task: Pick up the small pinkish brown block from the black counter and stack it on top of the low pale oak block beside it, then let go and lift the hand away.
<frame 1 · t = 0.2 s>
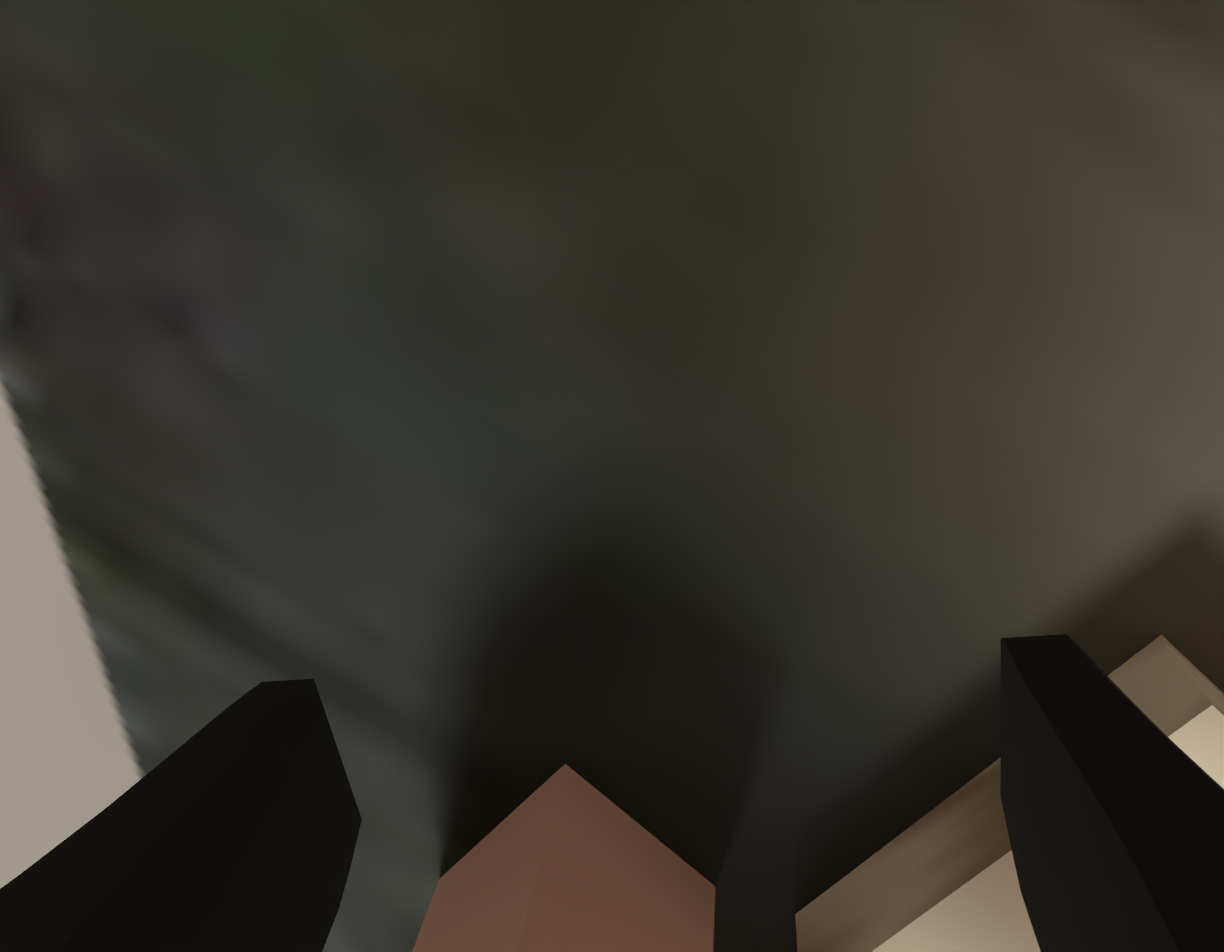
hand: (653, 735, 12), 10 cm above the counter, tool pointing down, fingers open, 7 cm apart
oak block: (1119, 910, 25), on the counter
pinkish brown block: (575, 881, 25), on the counter
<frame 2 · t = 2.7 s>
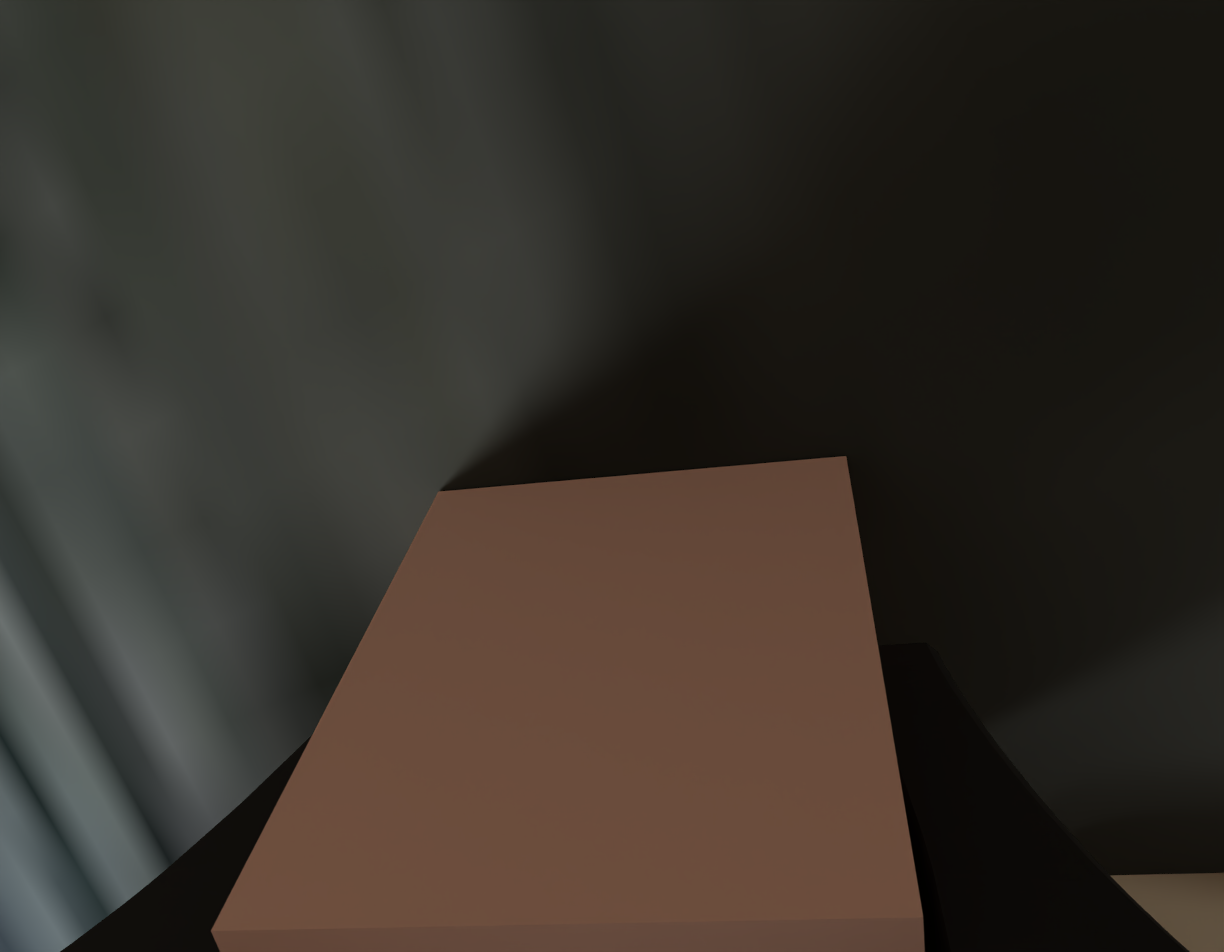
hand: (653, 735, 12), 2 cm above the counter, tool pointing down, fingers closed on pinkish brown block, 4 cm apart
pinkish brown block: (663, 642, 13), on the counter, touching gripper
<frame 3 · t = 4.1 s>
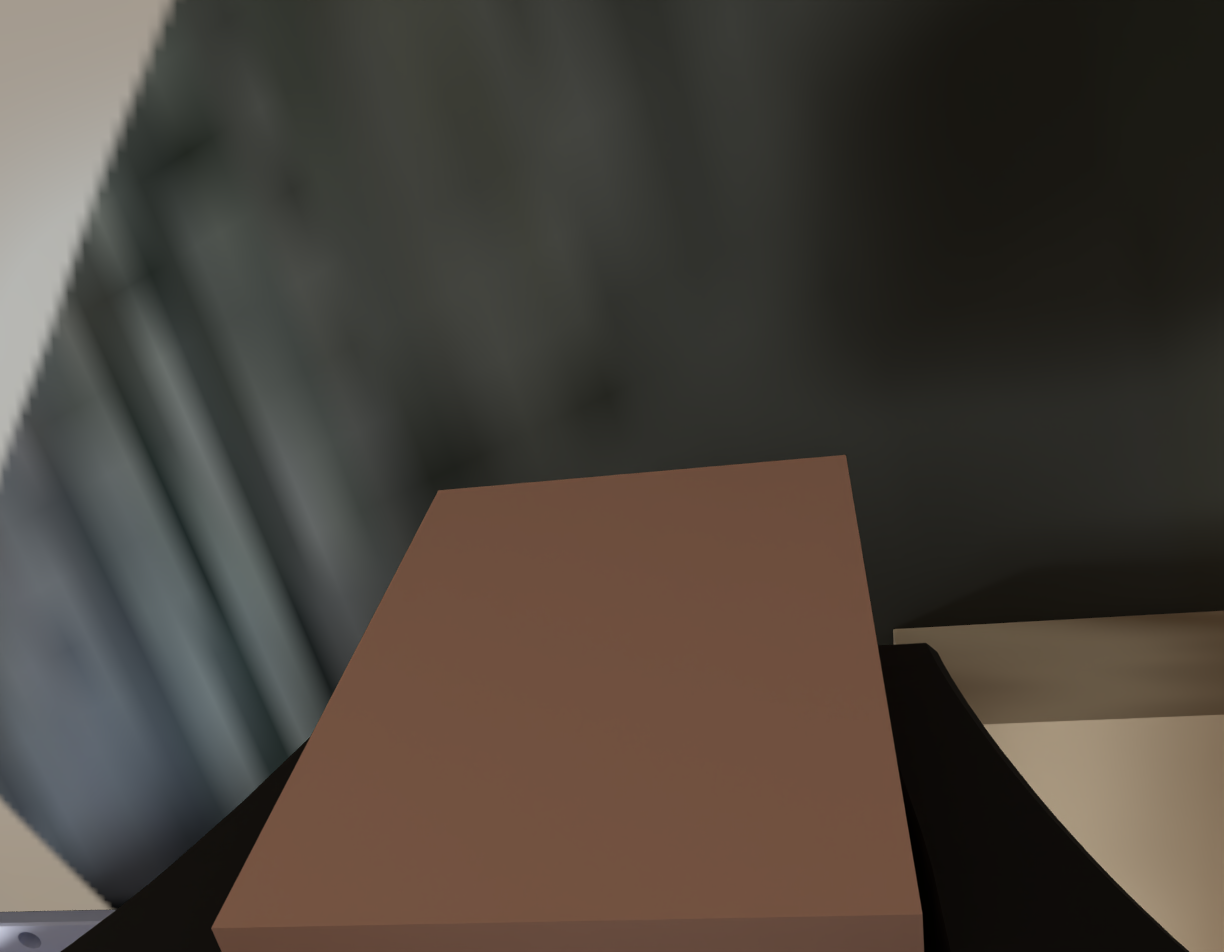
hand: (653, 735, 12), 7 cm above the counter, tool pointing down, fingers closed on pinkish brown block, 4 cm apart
oak block: (1172, 818, 21), on the counter
pinkish brown block: (663, 641, 13), point 5 cm above the counter, touching gripper
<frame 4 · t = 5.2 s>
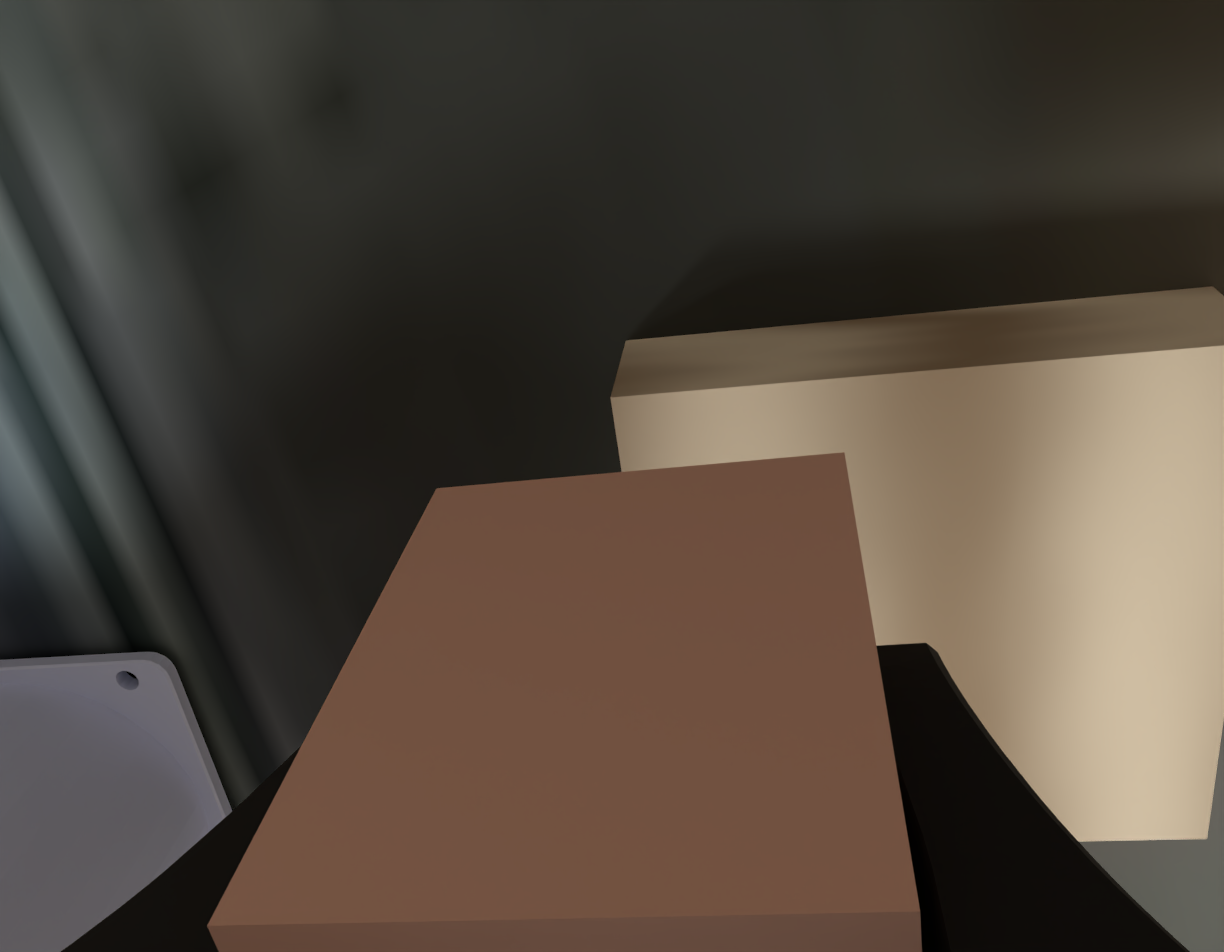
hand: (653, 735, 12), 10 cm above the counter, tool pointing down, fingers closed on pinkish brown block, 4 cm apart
oak block: (909, 545, 22), on the counter
pinkish brown block: (661, 639, 13), point 8 cm above the counter, touching gripper
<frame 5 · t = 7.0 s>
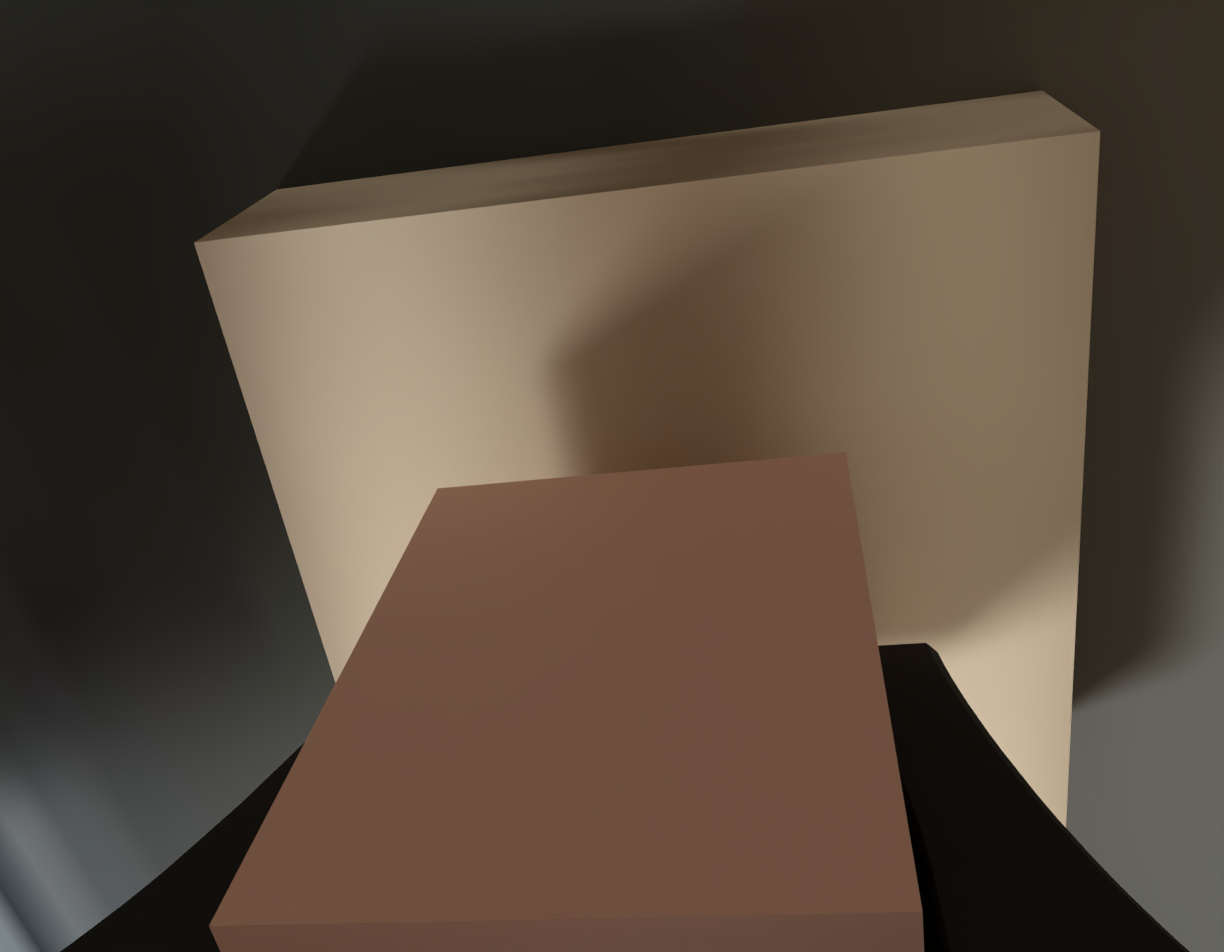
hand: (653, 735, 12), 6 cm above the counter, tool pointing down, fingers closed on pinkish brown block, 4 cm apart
oak block: (684, 469, 17), on the counter
pinkish brown block: (662, 639, 13), point 4 cm above the counter, touching gripper
when the fingers open (6 cm above the counter, at t = 8.1 s): pinkish brown block drops 1 cm, resting on oak block.
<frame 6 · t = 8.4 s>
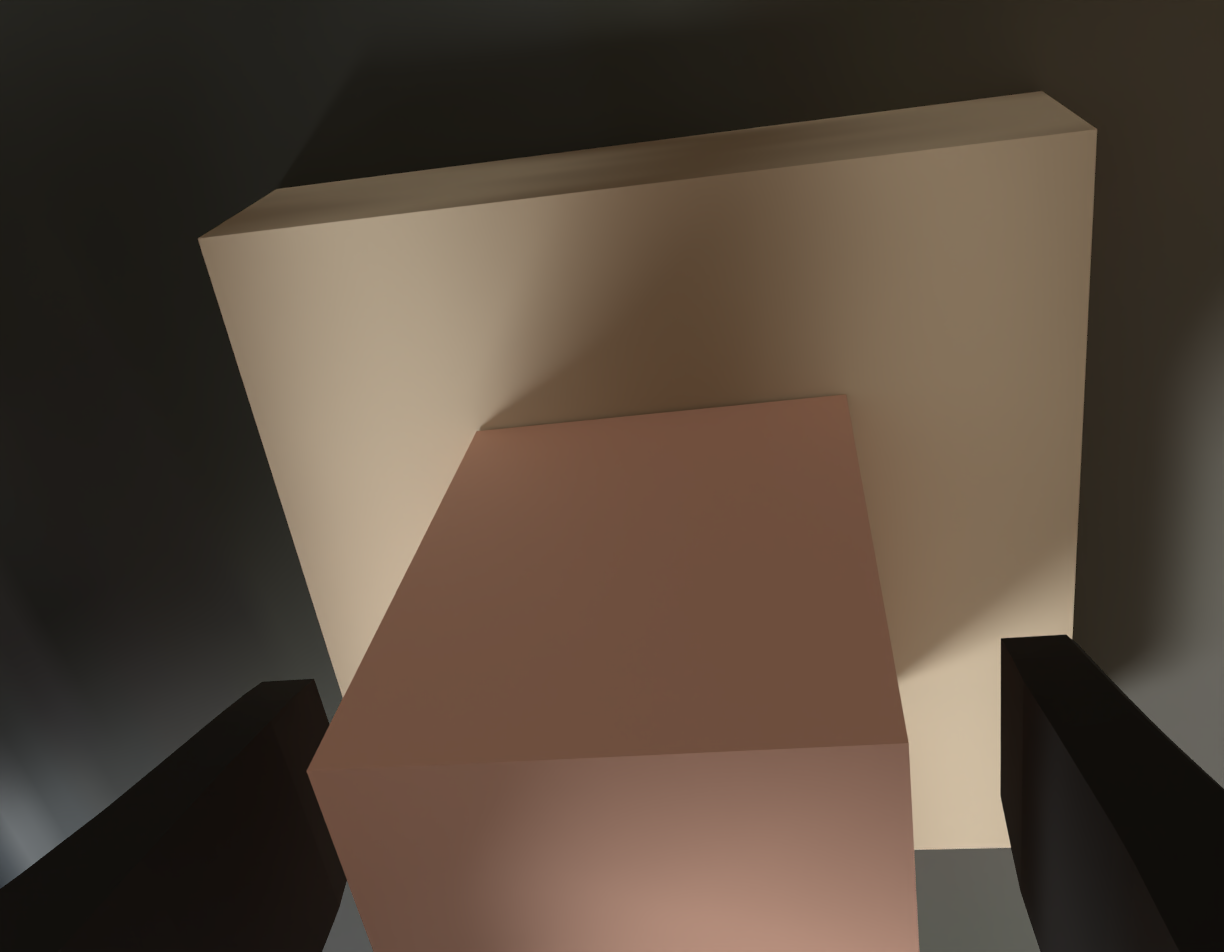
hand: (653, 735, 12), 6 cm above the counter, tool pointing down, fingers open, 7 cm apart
oak block: (684, 466, 17), on the counter, touching pinkish brown block
pinkish brown block: (680, 570, 14), point 2 cm above the counter, touching oak block
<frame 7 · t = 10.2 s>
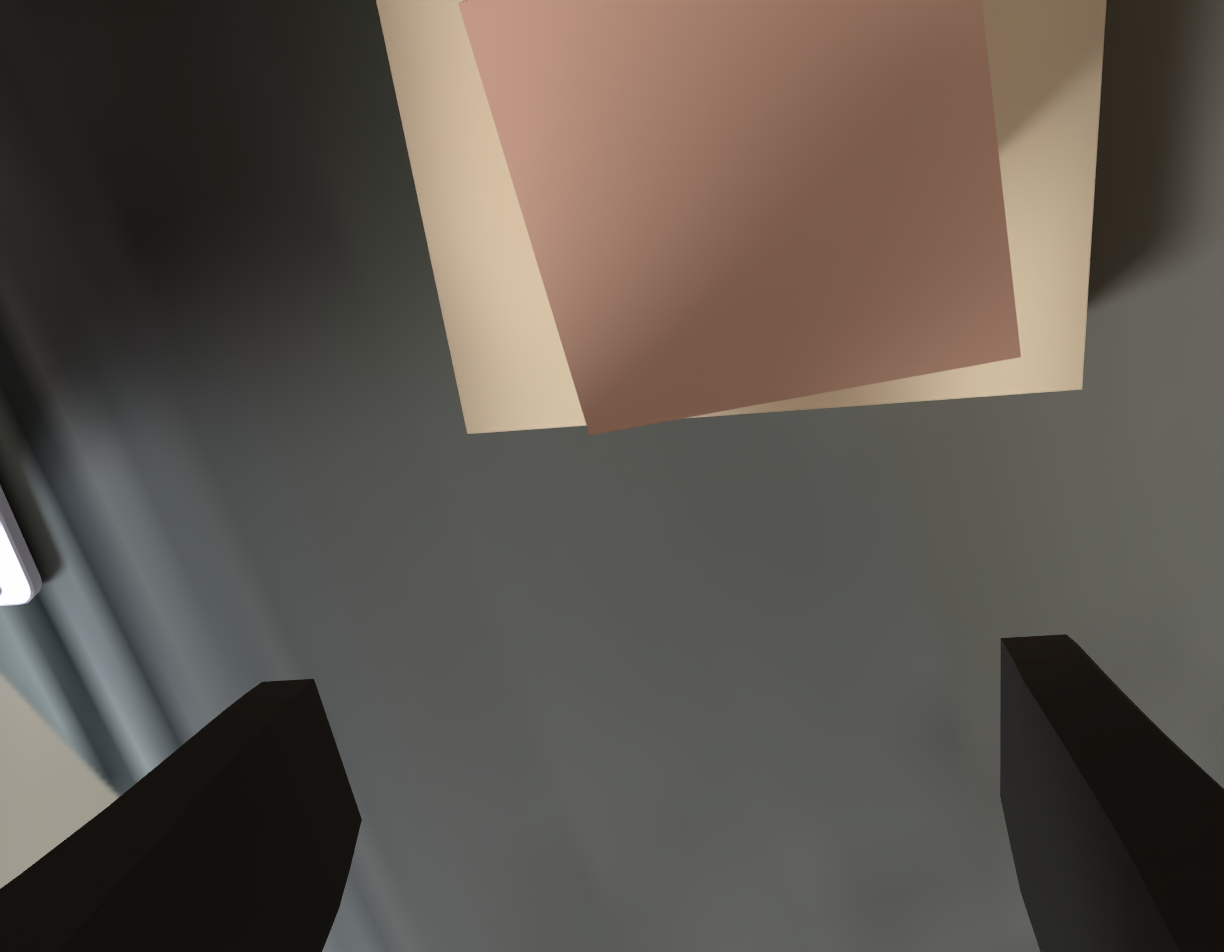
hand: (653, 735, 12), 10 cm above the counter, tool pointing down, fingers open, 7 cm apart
oak block: (739, 67, 19), on the counter, touching pinkish brown block
pinkish brown block: (764, 79, 16), point 3 cm above the counter, touching oak block
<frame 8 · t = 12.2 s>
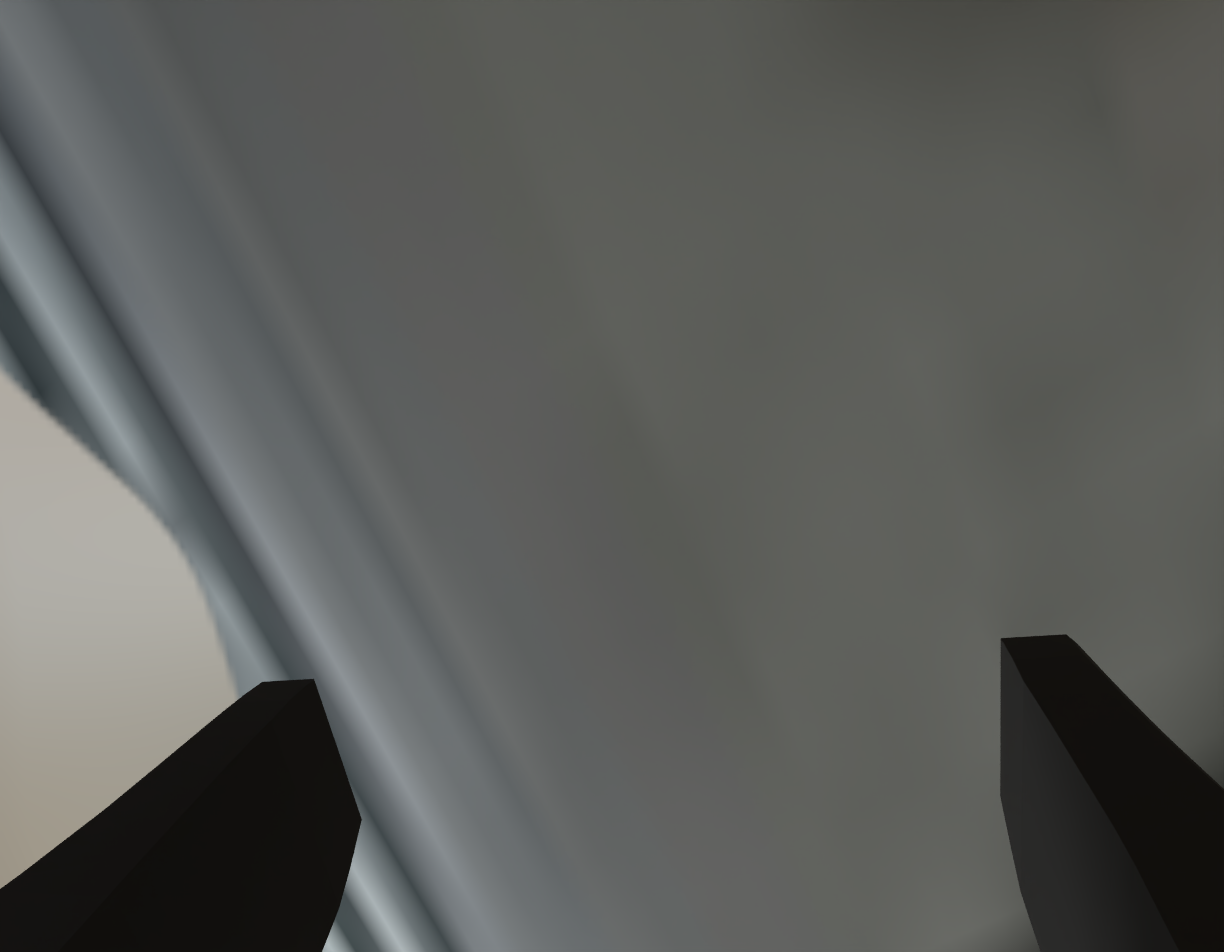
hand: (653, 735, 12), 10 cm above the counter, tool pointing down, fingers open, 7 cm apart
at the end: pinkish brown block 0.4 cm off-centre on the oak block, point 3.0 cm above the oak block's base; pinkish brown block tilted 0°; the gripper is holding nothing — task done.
